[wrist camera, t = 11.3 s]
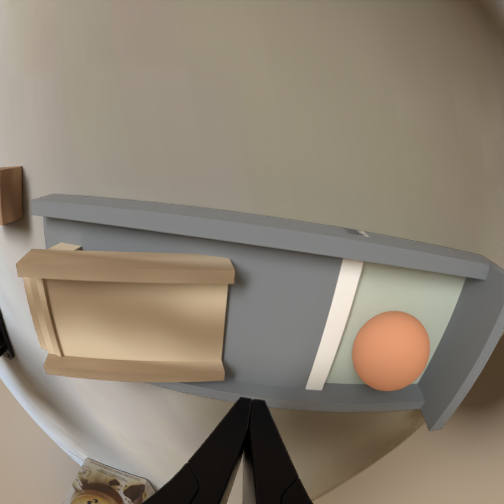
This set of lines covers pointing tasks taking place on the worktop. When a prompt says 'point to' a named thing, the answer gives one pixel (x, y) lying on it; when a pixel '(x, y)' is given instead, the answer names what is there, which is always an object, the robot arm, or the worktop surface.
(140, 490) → the coffee box
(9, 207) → the open wooden cube
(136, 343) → the ramp
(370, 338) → the ball
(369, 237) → the lane
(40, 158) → the worktop surface
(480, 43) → the worktop surface
